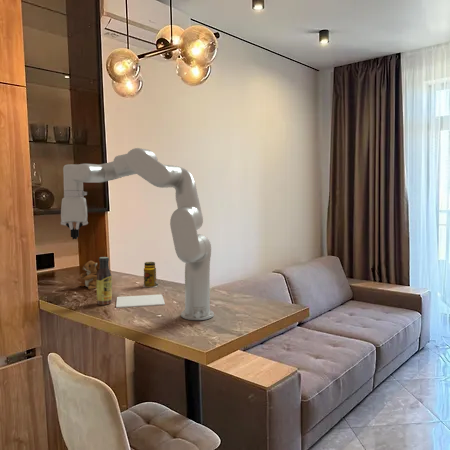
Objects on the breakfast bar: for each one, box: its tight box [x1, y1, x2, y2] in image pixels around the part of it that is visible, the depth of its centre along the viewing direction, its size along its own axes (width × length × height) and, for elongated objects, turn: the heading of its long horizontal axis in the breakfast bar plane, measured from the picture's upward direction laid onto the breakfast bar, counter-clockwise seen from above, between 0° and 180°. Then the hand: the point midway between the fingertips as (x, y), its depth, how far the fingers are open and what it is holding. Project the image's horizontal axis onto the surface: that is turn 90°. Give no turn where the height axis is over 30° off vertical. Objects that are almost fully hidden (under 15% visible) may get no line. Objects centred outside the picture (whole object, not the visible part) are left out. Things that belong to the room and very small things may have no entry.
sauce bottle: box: [96, 256, 113, 306], centre depth 180 cm, size 7×6×20 cm
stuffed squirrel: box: [79, 260, 100, 290], centre depth 212 cm, size 10×14×13 cm
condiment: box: [142, 261, 160, 288], centre depth 213 cm, size 7×8×12 cm
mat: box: [115, 293, 166, 309], centre depth 184 cm, size 16×20×1 cm
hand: (74, 238), depth 176 cm, fingers closed
